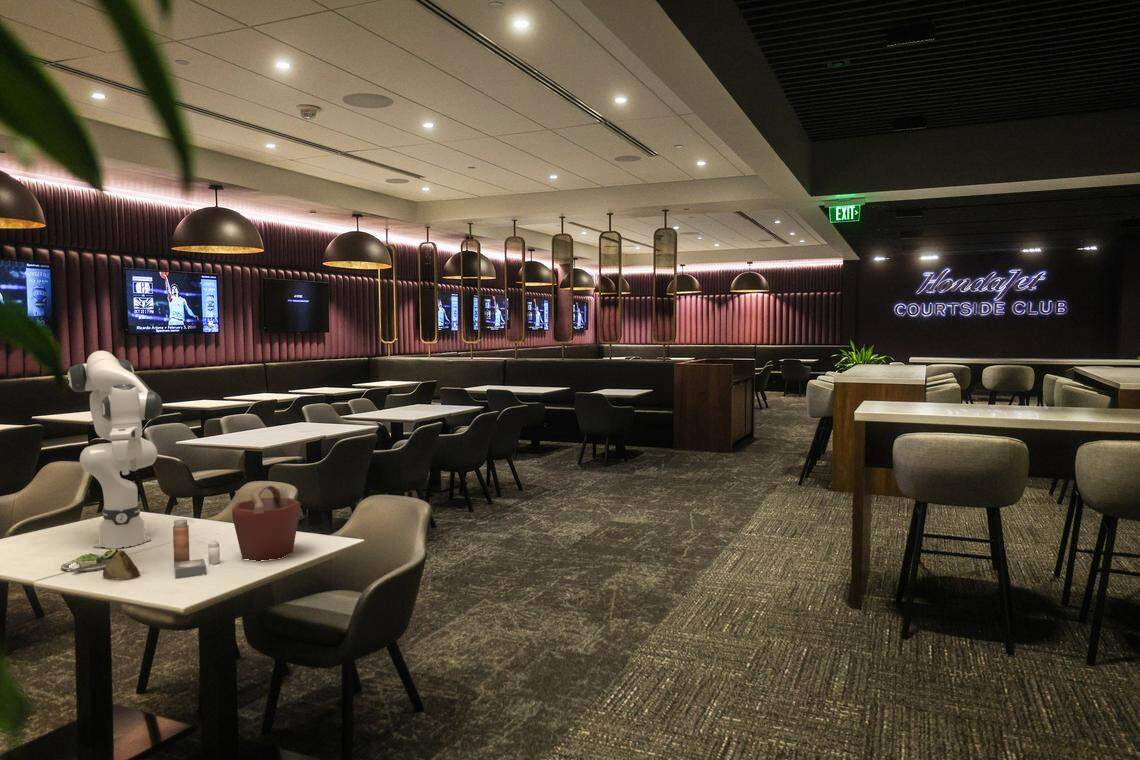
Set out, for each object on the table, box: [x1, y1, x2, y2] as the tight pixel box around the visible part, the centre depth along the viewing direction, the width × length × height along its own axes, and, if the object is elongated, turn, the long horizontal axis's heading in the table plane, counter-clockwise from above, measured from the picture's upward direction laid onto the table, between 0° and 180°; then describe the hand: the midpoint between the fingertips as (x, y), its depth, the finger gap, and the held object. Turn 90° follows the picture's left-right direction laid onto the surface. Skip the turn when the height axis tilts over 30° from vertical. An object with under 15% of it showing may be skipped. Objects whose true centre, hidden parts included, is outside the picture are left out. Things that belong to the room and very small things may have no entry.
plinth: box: [173, 558, 207, 579], centre depth 257 cm, size 9×9×3 cm
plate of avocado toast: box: [60, 548, 119, 573], centre depth 265 cm, size 19×18×5 cm
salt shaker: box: [207, 540, 221, 565], centre depth 268 cm, size 4×4×8 cm
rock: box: [102, 549, 142, 580], centre depth 253 cm, size 11×9×10 cm
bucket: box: [231, 484, 301, 562], centre depth 278 cm, size 24×22×25 cm
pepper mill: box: [172, 518, 191, 563], centre depth 264 cm, size 5×5×16 cm
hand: (129, 472), depth 261 cm, fingers open, 8 cm apart
